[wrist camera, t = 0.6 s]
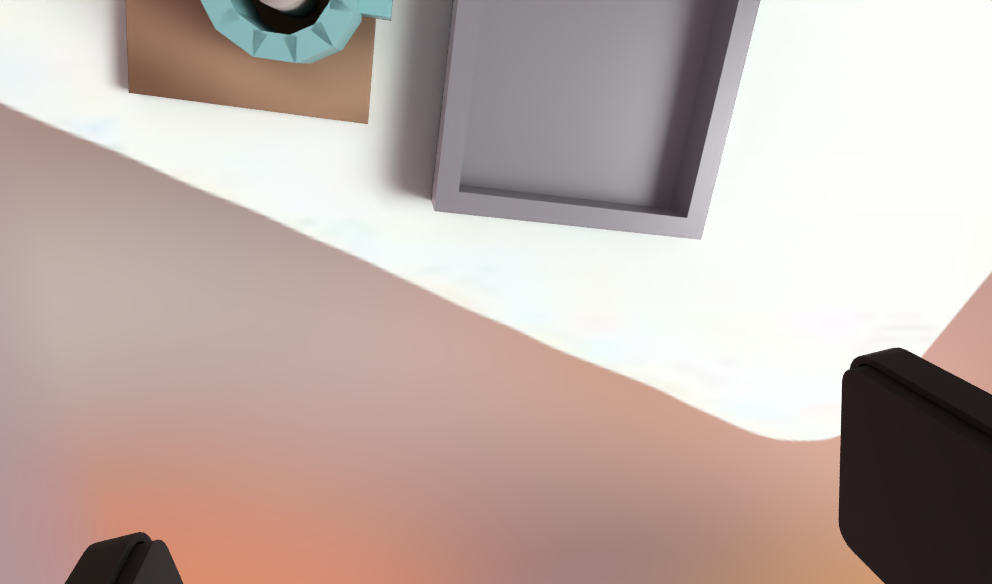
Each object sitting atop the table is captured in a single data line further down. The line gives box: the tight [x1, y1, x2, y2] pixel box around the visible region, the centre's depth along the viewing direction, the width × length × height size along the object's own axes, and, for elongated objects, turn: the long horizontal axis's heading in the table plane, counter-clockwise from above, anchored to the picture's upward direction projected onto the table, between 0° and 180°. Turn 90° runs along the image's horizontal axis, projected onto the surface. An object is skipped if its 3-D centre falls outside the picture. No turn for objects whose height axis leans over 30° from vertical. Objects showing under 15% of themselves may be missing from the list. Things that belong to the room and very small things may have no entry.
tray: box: [431, 0, 760, 240], centre depth 35 cm, size 20×16×3 cm
